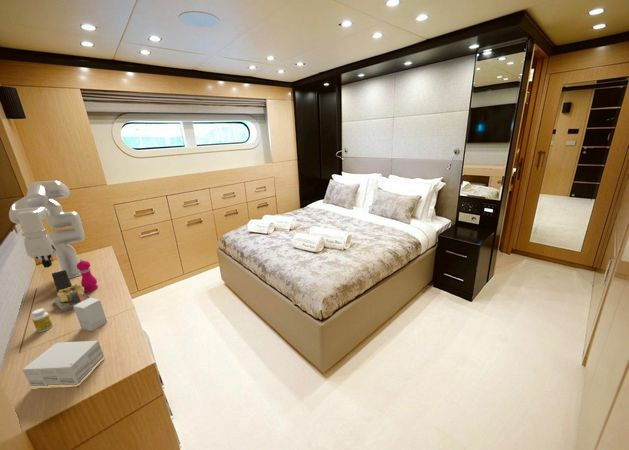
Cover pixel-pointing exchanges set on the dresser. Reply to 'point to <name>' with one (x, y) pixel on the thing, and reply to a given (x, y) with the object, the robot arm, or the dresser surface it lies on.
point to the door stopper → (61, 280)
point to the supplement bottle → (41, 320)
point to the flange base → (69, 305)
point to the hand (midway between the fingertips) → (48, 266)
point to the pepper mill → (87, 276)
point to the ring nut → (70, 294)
